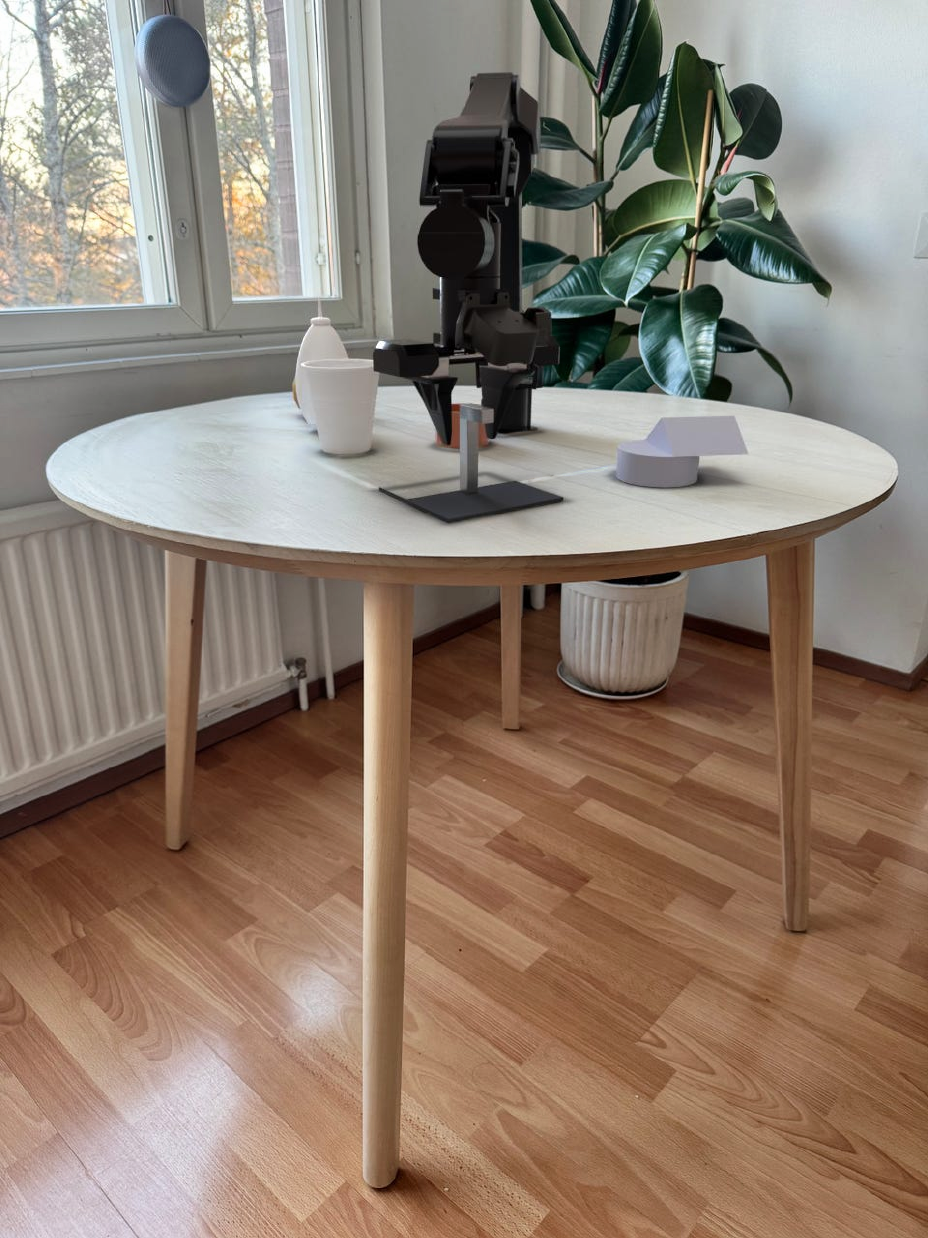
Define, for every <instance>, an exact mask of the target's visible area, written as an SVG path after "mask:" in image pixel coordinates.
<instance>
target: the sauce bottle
mask: <svg viewBox="0 0 928 1238" xmlns="http://www.w3.org/2000/svg"><path fill="white" fill-rule="evenodd" d="M317 314H318V316H317V317H313V318H311V319H310V324H311V325H310V327H308V329H307V330H306V332H305V335H304V337H303V339H302V341H301V344H300V348H299V351H298V356H297V360H296V366H295V376H296V377H295V376H294V379H295V383H296V394H297V400H298V403H299V407H300V409H301V410H300V409H299V410H300V412H301V413H302V416H303V418H304V419H305V421H306V422H307V424H308V425H310V426H313V427H314V430H315V431H317V432H318V429H317V424H316V420H315V416H314V412H313V408H312V404H311V400H310V396H309V392H308V387H307V383H306V379H305V374H304V370H303V368H302V367H301V364H302V363H304V362H307V361H313V360H323V359H350V358H349V355H348V352H347V350H346V348H345V345H344V343H343V341H342V339H341V337H340V336H339V334H338V332H337V331H336V330H335V328H334V327H333V326H332V325H331V323H332V322H331V318H329V317H323V310H322V302H321V298H320V297H318V299H317Z"/></svg>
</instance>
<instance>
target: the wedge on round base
mask: <svg viewBox="0 0 928 1238" xmlns="http://www.w3.org/2000/svg"><path fill="white" fill-rule="evenodd" d="M737 455H738V456H739V455H740V456H741V455H743V456H744V455H749V451H748V449H747V446H746V443H745V440H744V437H743V435H742V433H741V429H740V427H739V424H738V421H737V419H736V416H735V415H706V416H673V417H672V416H671V417H667V416H666V417H661V418H660V419H659V421H658V422H657V423H656V424H655V426H654V427H653V429H652V430H651V431H650V432H649V434H648V435H647V436H646V438H645V439H635V440H628V441H624V442H621V443H619V444H618V446H617V457H616V470H615V478H616V479H618V480H619V481H621V482H624V483H627V484H630V485H633V486H634V485H635V486H639V487H647V488H681V487H687V486H691V485H693V484H695V483H696V482H697V481H698V473H699V465H700V457H709V456H710V457H711V456H737Z"/></svg>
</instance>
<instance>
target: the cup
mask: <svg viewBox="0 0 928 1238" xmlns="http://www.w3.org/2000/svg"><path fill="white" fill-rule="evenodd" d="M301 367H302V368H303V370H304V374H305V379H306V383H307V387H308V392H309V396H310V400H311V404H312V408H313V412H314V416H315V420H316V424H317V429H318V431H317V435H318V439H319V443H320V448H321V451H322V452H324V453H327V454H331V455H355V454H362V453H366V452H369V451H370V450H371V447H372V439H373V430H374V421H375V412H376V403H377V396H378V388H379V382H380V381H379V380H380V373H379V372H375V371H374V369H373V359H366V358H349V359H323V360H313V361H307V362H304V363H302V364H301Z"/></svg>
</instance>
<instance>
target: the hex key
mask: <svg viewBox="0 0 928 1238" xmlns="http://www.w3.org/2000/svg"><path fill="white" fill-rule="evenodd" d="M476 404H477V403H472V402H469V403H468V404H460V448H459V490H460V491H461V492H463V493H466V494H471V493H477V492H478V487H479V447H478V423H480V424H488V423H493V414H494V409H492V408H488V407H484V406H480V405H481V404H480V405H476Z"/></svg>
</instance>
